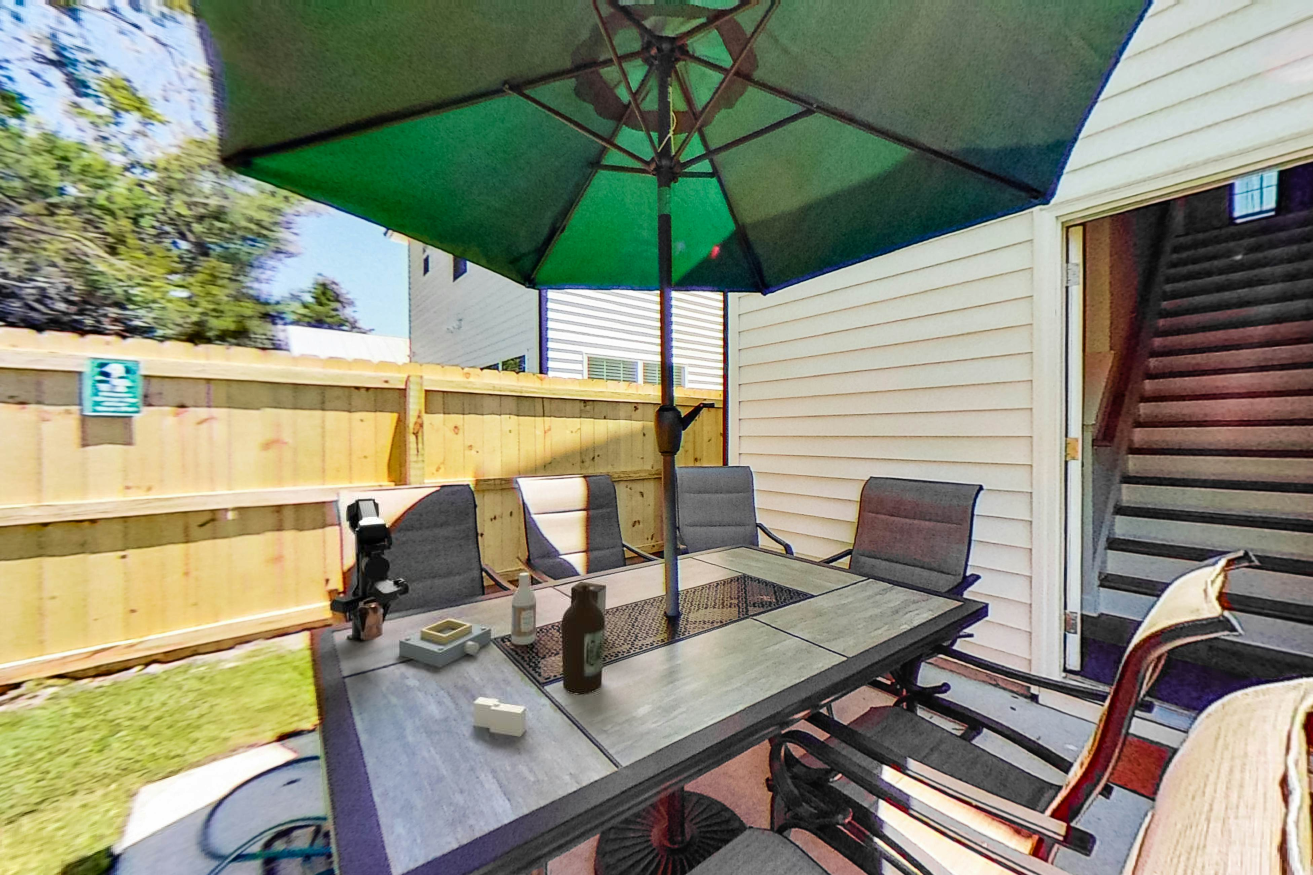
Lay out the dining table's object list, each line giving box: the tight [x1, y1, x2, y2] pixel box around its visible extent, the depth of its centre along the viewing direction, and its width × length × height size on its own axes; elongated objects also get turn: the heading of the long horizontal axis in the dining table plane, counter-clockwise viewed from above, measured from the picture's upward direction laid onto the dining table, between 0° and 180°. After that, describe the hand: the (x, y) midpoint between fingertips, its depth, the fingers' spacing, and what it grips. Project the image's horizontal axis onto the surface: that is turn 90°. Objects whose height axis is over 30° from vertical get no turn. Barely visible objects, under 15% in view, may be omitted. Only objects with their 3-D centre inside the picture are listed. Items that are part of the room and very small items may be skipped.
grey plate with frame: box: [398, 617, 492, 668], centre depth 141 cm, size 19×18×6 cm
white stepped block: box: [472, 696, 527, 737], centre depth 105 cm, size 15×11×6 cm
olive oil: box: [560, 581, 606, 695], centre depth 122 cm, size 11×11×25 cm
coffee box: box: [570, 581, 607, 638], centre depth 149 cm, size 9×6×16 cm
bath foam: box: [510, 572, 537, 646], centre depth 147 cm, size 7×7×20 cm
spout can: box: [361, 603, 383, 641], centre depth 132 cm, size 7×5×8 cm
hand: (371, 627), depth 133 cm, fingers closed on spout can, 5 cm apart
